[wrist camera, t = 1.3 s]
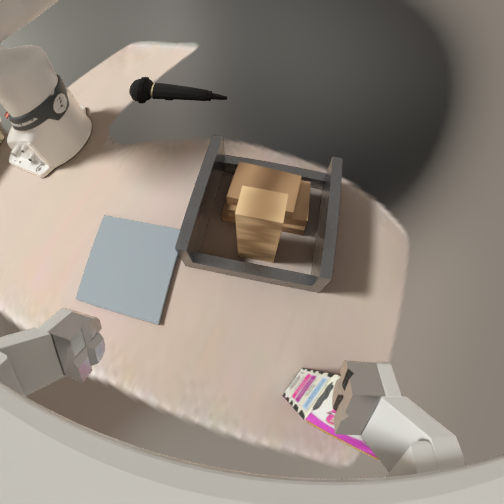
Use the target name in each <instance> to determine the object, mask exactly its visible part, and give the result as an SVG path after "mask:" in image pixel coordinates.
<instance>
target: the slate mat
mask: <svg viewBox="0 0 504 504" xmlns="http://www.w3.org/2000/svg"><path fill="white" fill-rule="evenodd" d="M179 233H180V229H175V228H170V227H164V226H159V225H154V224H148V223H143V222H138V221H132V220H127V219H122V218H116V217H111V216H106V215H104V217H103V220H102V222H101V225H100V228H99V230H98V233H97V236H96V238H95V241H94V244H93V247H92V250H91V252H90V255H89V258H88V261H87V264H86V267H85V270H84V274H83V277H82V280H81V283H80V287H79V290H78V293H77V297H76V299H77V300H80V301H83V302H86V303H89V304H92V305H95V306H98V307H101V308H104V309H107V310H110V311H113V312H117V313H120V314H123V315H127V316H130V317H133V318H137V319H140V320H144V321H147V322H151V323H154V324H158V325H159V324H160V320H161V316H162V312H163V308H164V304H165V301H166V297H167V293H168V289H169V286H170V282H171V278H172V275H173V271H174V268H175V264H176V261H177V257H178V253H177V251H176V250H175V246H176V242H177V239H178V236H179Z"/></svg>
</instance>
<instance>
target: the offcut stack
mask: <svg viewBox="0 0 504 504" xmlns="http://www.w3.org/2000/svg"><path fill="white" fill-rule="evenodd" d="M301 177H302V176H299V175H296V174H292V173H287V172H283V171H279V170H275V169H271V168H267V167H262V166H258V165H253V164H249V163H244V162H239V164H238V166H237V169H236V172H235V174H234V175H232V178H231V181H230V185H229V189H228V192H227V196H226V200H225V203H224V207H223V211H222V214H221V216H222V221H228V222H234V223H236V221H235V212H236V208H237V204H238V200H239V196H240V192H241V189H242V186H248V187H253V188H259V189H264V190H270V191H275V192H280V193H285V194H288V199H287V205H286V211H285V216H284V222H283V226H282V230H281V231H282V232H288V233H293V234H298V235H303V233H304V231H305V227H306V224H307V222H308V214H309V199H310V182H308V181H302V180H301Z"/></svg>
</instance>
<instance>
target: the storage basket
mask: <svg viewBox="0 0 504 504" xmlns="http://www.w3.org/2000/svg"><path fill="white" fill-rule="evenodd" d="M3 139H4V135H3V134H2V132H1V131H0V143H1V142H2V141H3Z"/></svg>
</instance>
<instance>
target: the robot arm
mask: <svg viewBox="0 0 504 504" xmlns="http://www.w3.org/2000/svg"><path fill="white" fill-rule="evenodd" d="M57 1H58V0H0V43H1V42H2V41H3V40H5V39H6V38H7V37H9V36H10V35H12V34H13V33H14V32H16V31H17V30H19V29H20V28H22V27H23V26H25V25H26V24H28V23H30V22H31V21H33V20H34V19H36V18H37V17H38V16H39V15H41V14H42V13H43V12H44V11H46V10H47V9H48V8H49V7H50V6H52V5H53V4H54V3H56V2H57ZM0 102H1V103H2V105H3V106H4V107H5V109H6V110H7V112H6V114H7V113H8V114H7V117H6V119H7V118H8V117H9V118H10V121H11V124H12V126H11V129H10V131H9V134H8V137H7V143H8V145H9V147H10V148H11V149H12V151H11V153H10V157H9V162H10V164H11V165H13V166H15V167H18V168H20V169H22V170H24V171H27V172H29V173H31V174H34V175H36V176H38V177H41V178H43V177H45V176H47V175H48V174H49V173H50V172H51V171H52V170H53V169H54V168H56V167H58V166H59V165H61V164H63V163H65V162H67V161H68V160H70V159H71V158H72V157H73V156H75V155H76V154H77V153H78V152H79V151H80V150H81V148H82V147H83V146H84V145H85V143H86V142H87V140H88V138H89V136H90V133H91V129H92V123H91V120H90V119H89V118H88V117H87V115H86V109H85V107H84V106H83V105H79V103H78V102H77V101H76V99H75V98H74V96H73V95H72V94H71V92H70V91H69V90H68V89H67V88H66V87H65V85H64V82H63V80H62V79H61V78H60V76H59V75H57V74H56V73H55V71H54V69H53V68H52V66H51V64H50V62H49V60H48V58H47V56H46V54H45V52H44V50H43V49H42V48H40V47H38V46H35V45H26V46H20V47H17V48H4V47H2V46H0ZM6 114H5V115H6ZM5 115H4V116H5ZM100 330H101V323H100V320H99V319H98V318H96V317H93V316H90V315H87V314H84V313H80V312H77V311H74V310H71V309H67V308H62V309H61V310H59V311H58V312H57V313H56V314H55V315H53V316H52V317H51V318H50V319H49V320H47V321H46V322H45V323H44V324H43V325H41V326H40V327H39V328H38V329H37V328H32V329H28V330H25V331H21V332H17V333H14V334H11V335H7V336H4V337H0V504H504V454H503V455H500V456H497V457H493V458H490V459H486V460H483V461H479V462H475V463H471V464H467V465H466V463H465V460H464V457H463V454H462V451H461V449H460V446H459V443H458V441H457V438H456V436H455V435H454V434H452V433H451V432H450V431H449V430H448V429H446V428H445V427H444V426H443V425H441V424H440V423H439V422H438V421H436V420H435V419H434V418H432V417H431V416H430V415H429V414H427V413H426V412H425V411H424V410H422V409H421V408H420V407H419V406H417V405H416V404H415V403H414V402H413V401H411V400H410V399H409V398H408V397H406V396H402V394H401V392H400V389H399V386H398V383H397V380H396V377H395V375H394V372H393V369H392V366H391V364H390V363H389V362H358V361H344V362H343V363H342V366H341V368H340V375H341V377H340V378H339V379H338V380H336V383H335V386H334V390H333V396H332V405H333V409H334V410H335V411H336V414H335V416H334V429H335V434H340V435H361V438H362V439H363V440H364V442H365V443H366V444H367V445H368V447H369V448H370V449H371V450H372V452H373V453H374V454H375V456H376V457H377V458H378V459H379V461H380V462H381V463H382V464H383V466H384V467H385V468H386V469H387V471H388V472H389V473H388V475H387V476H386V477H380V478H363V479H311V478H294V477H281V476H271V475H262V474H254V473H246V472H240V471H234V470H228V469H223V468H217V467H212V466H207V465H203V464H198V463H194V462H189V461H185V460H181V459H177V458H174V457H170V456H166V455H163V454H159V453H156V452H152V451H149V450H146V449H143V448H140V447H137V446H134V445H131V444H128V443H125V442H122V441H120V440H117V439H114V438H112V437H109V436H106V435H103V434H101V433H99V432H97V431H94V430H92V429H89V428H87V427H85V426H82V425H80V424H78V423H76V422H73V421H71V420H69V419H67V418H65V417H63V416H61V415H59V414H57V413H55V412H53V411H51V410H48V409H47V408H45V407H43V406H41V405H39V404H37V403H35V402H34V401H32V400H30V399H29V398H27V397H26V395H28V394H30V393H32V392H35V391H36V390H39V389H40V388H42V387H44V386H46V385H48V384H50V383H52V382H54V381H56V380H58V379H60V378H62V377H64V375H65V376H67V377H70V378H73V379H75V380H78V381H81V382H83V381H84V380H85V379H86V378H87V376H88V375H89V374H90V373H91V371H92V365H95V364H97V363H99V361H100V360H101V359H102V357H103V354H104V351H105V343H104V339H103V337H102V336H101V334H100V333H99V332H100Z"/></svg>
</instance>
